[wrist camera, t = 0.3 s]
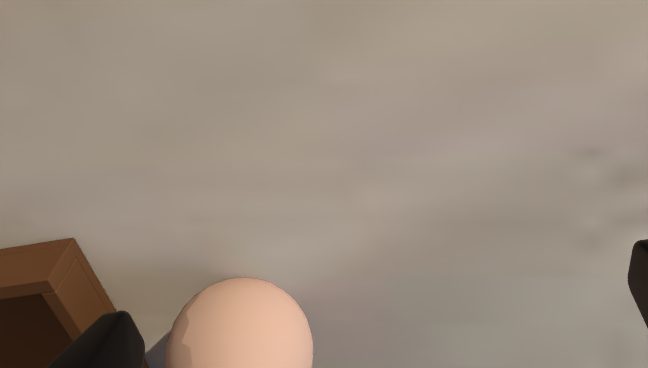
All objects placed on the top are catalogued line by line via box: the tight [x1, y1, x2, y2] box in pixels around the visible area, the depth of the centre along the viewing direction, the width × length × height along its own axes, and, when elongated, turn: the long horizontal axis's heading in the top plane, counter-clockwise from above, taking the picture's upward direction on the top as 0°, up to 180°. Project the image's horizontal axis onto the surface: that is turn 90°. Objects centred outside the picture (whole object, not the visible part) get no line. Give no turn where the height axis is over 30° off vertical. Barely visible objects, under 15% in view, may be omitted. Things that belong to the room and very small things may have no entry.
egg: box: [165, 278, 313, 368], centre depth 26 cm, size 7×7×8 cm
